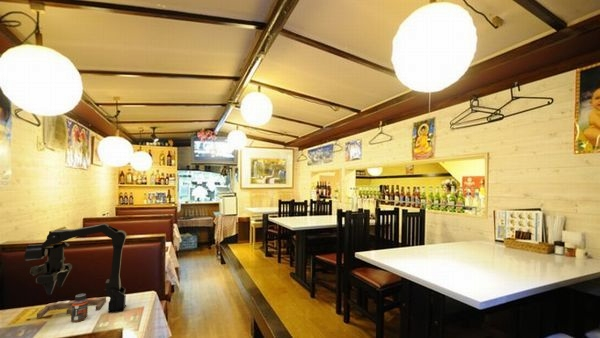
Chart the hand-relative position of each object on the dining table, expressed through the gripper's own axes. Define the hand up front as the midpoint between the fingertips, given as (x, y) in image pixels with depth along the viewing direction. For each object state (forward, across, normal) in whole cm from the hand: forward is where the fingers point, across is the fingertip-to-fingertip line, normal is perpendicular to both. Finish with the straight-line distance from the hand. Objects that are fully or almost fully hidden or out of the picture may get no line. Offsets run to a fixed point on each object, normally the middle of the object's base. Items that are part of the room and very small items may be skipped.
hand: (54, 290), depth 128 cm
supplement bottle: (+14, +2, +11) cm, 18 cm away
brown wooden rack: (+14, -11, +4) cm, 18 cm away
